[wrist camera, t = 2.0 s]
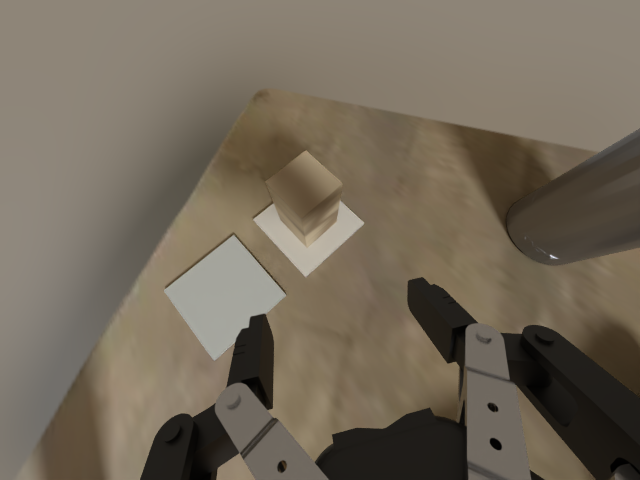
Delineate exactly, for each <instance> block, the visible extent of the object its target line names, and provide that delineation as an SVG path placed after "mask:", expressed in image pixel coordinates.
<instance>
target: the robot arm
mask: <svg viewBox="0 0 640 480" xmlns="http://www.w3.org/2000/svg"><path fill="white" fill-rule="evenodd" d="M507 228H508V232H509V235H510V237H511V239H512V241H513V242H514V243H515V245H516V246H517V247H518V248H519V249H520V250H521V251H522V252H523V253H524V254H525V255H527V256H528V257H530V258H531V259H533V260H536V261H538V262H540V263H544V264H547V265H563V264H568V263H572V262H577V261H581V260H586V259H590V258H595V257H600V256H604V255H609V254H613V253H618V252H622V251H627V250H631V249H636V248H640V129H638V130H636V131H635V132H633V133H631V134H630V135H628V136H626V137H625V138H623V139H621V140H620V141H618V142H616V143H614V144H613V145H611V146H609V147H608V148H606V149H604V150H603V151H601V152H599V153H598V154H596V155H594V156H593V157H591V158H589V159H588V160H586V161H584V162H583V163H581V164H579V165H578V166H576V167H574V168H573V169H571V170H569V171H568V172H566V173H564V174H562V175H561V176H559V177H557V178H556V179H554V180H552V181H551V182H549V183H547V184H546V185H544V186H542V187H540V188H539V189H537V190H535V191H534V192H532V193H530V194H529V195H527V196H526V197H524V198H522V199H521V200H519V201H517V202H516V203H514V205H513V206H512V207H511V208H510V210H509V212H508V215H507ZM407 301H408V306H409V309H410V311H411V313H412V314H413V316H414V317H415V319H416V320H417V321H418V323H419V324H420V326H421V327H422V328H423V330H424V331H425V333H426V334H427V335H428V337H429V338H430V340H431V341H432V342H433V344H434V345H435V347H436V348H437V349H438V351H439V352H440V354H441V355H442V356H443V358H444V359H445V361H446V362H447V363H452V362H457V364H458V365H459V366H460V367H459V384H458V410H457V421H454V420H451V419H448V418H444V417H439V416H434V414H433V413H432V411H431V409H430V408H427V409H424V410H420V411H417V412H413V413H409V414H406V415H405V416H403V417H402V418H400V419H399V420H397V421H396V422H394V423H393V424H391V425H390V426H388V427H387V428H384V429H372V428H355V429H351V430H347V431H344V432H340V433H336V434H333V435H332V437H333V444H331V445H330V446H329V447H327V448H326V449H325V450H324V451H323V452H322V453H321V454H320V456H319V457H318V458H317V460H316V461H315V463H314V461H313V460H312V459H311V458H310V457H309V455H308V454H307V453H306V452H305V451H304V449H303V448H302V447H301V446H300V445H299V444H298V442H297V441H296V440H295V439H294V438H293V436H292V435H291V434H290V433H289V432H288V430H287V429H286V428H285V427H284V426H283V424H282V423H281V422H280V421H279V420H278V419H277V418H273V417H272V415H271V414H270V413H269V412H268V411H267V410H269V409H273V366H274V340H273V335H272V331H271V329H270V326H269V323H268V320H267V317H266V315H265V313H264V314H259V315H255V316H251V317H250V321H249V327H248V328H243V329H241V331H240V333H239V334H238V336H237V337H236V341H235V349H234V352H233V357H232V362H231V367H230V372H229V377H228V382H227V387H226V389H225V390H224V391H223V392H222V393H221V394H220V395H219V397H218V399H217V401H216V403H215V404H214V405H213V406H211V407H210V408H208V409H206V410H205V411H203V412H201V413H199V414H198V415H196V416H194V417H193V418H192V417H191V416H190V415H189V414H179V415H176V416H174V417H172V418H171V419H169V420H168V421H167V422H166V423H165V424H164V425H163V426H162V427H161V428H160V430H159V431H158V433H157V434H156V436H155V438H154V441H153V444H152V447H151V449H150V452H149V455H148V458H147V461H146V464H145V467H144V470H143V473H142V475H141V478H140V480H216V477H217V469H218V467H220V466H221V465H222V464H224V463H225V462H227V461H228V460H230V459H231V458H233V457H234V456H236V455H237V454H239V453H240V454H241V456H242V458H243V460H244V461H245V463H246V465H247V466H248V468H249V470H250V471H251V473H252V475H253V476H254V478H255V479H256V480H544V479H543V478H541V477H540V476H538V475H537V474H535V473H534V472H532V471H531V470H530V469H529V463H528V457H527V451H526V445H525V439H524V433H523V427H522V421H521V415H520V409H519V403H518V396H517V390H516V386H515V385H517V386H518V388H519V389H520V390H521V391H522V392H523V394H524V395H525V396H526V397H527V398H528V399H529V401H530V402H531V403H532V404H533V405H534V407H535V408H536V409H537V410H538V411H539V412H540V414H541V415H542V416H543V417H544V418H545V420H546V421H547V422H548V423H549V424H550V425H551V427H552V428H553V429H554V430H555V431H556V432H557V434H558V435H559V436H560V437H561V438H562V440H563V441H564V442H565V443H566V444H567V445H568V447H569V448H570V449H571V450H572V451H573V453H574V454H575V455H576V456H577V457H578V458H579V460H580V461H581V462H582V463H583V464H584V466H585V467H586V468H587V469H588V470H589V471H590V473H591V474H592V475H593V476H594V477H595V479H596V480H640V398H639V397H638V396H637V395H635V394H634V393H633V392H632V391H630V390H629V389H628V388H627V387H625V386H624V385H623V384H622V383H620V382H619V381H618V380H617V379H615V378H614V377H613V376H611V375H610V374H609V373H608V372H606V371H605V370H604V369H603V368H601V367H600V366H599V365H598V364H596V363H595V362H594V361H593V360H591V359H590V358H589V357H588V356H586V355H585V354H584V353H583V352H581V351H580V350H579V349H578V348H576V347H575V346H574V345H573V344H571V343H570V342H569V341H568V340H566V339H565V338H564V337H563V336H561V335H560V334H559V333H557V332H555V331H554V330H552V329H549V328H547V327H544V326H539V325H529V326H526V327H525V328H524V329H523V332H522V334H511V333H499V332H498V331H497V330H496V329H494V328H493V327H491V326H488V325H485V324H480V323H478V322H477V321H476V320H475V319H474V318H473V317H472V316H471V315H470V314H469V313H468V312H467V311H466V310H465V309H463V308H462V307H461V306H460V305H459V304H458V303H456V301H455V300H454V299H453V298H452V297H451V296H450V295H449V294H448V293H447V292H446V291H445V290H444V289H443V288H441V287H439V286H437V285H435V284H433V285H430V284H429V283H428V282H427V281H426V280H425V279H424V278H423V277H421V278H416V279H412V280H409V281H408V299H407Z"/></svg>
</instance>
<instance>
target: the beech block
mask: <svg viewBox="0 0 640 480" xmlns="http://www.w3.org/2000/svg"><path fill="white" fill-rule="evenodd" d="M265 183H266V185H267V188H268V190H269V193H270V195H271V198H272V200H273V203H274V205H275V208H276V210H277V213H278V215H279V218H280V220H281V221H282V222H283V223H284V224H285V225H286V226H287V228H288V229H289V230H290V231H291V232H292V233H293V234H294V235H295V236H296V237H297V238H298V239H299V240H300V241H301V242H302V243H303V244H304V245H305V246H306V247H307V248H308V247H309V246H310V245H311V244H312V243H313V242H314V241H316V240H317V239H318V238H319V237H320V236H321V235H322V234H324V233H325V232H326V231H327V230H328V229H329V228H330V227H331V226H333V225H334V224H335V223H336V222H337V216H338V210H339V204H340V198H341V192H342V186H343V183H342V182H340V181H339V180H338V179H337V178H336V177H335V176H334V175H333V174H332V173H331V172H329V171H328V170H327V169H326V168H325V167H324V166H323V165H322V164H321V163H320V162H318V161H317V160H316V159H315V158H314V157H313V156H312V155H311V154H310V153H309V152H307V151H306V150H305V151H304V152H303V153H302V154H300V155H299V156H298V157H296V158H295V159H294V160H292V161H291V162H290V163H288V164H287V165H286V166H284V167H283V168H282V169H281V170H279V171H278V172H277V173H275V174H274V175H273V176H271V177H270V178H269V179H267V180H266V181H265Z"/></svg>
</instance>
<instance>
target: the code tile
mask: <svg viewBox="0 0 640 480" xmlns="http://www.w3.org/2000/svg"><path fill="white" fill-rule="evenodd" d="M253 220H254V222H255V223H256V224H257V225H258V226H259V227H260V228H261V229H262V230H263V231H264V233H265V234H266V235H267V236H268V237H269V238H270V239H271V240H272V241H273V242H274V243H275V245H276V246H277V247H278V248H279V249H280V250H281V251H282V252H283V253H284V254H285V256H286V257H287V258H288V259H289V260H290V261H291V262H292V263H293V264H294V265H295V266H296V268H297V269H298V270H299V271H300V272H301V273H302V274H303V275H304V276H305V277H307V276H308V275H309V274H310V273H311V272H312V271H313V270H315V269H316V268H317V267H318V266H319V265H320V264H321V263H322V262H323V261H324V260H325V259H327V258H328V257H329V256H330V255H331V254H332V253H333V252H334V251H335V250H336V249H337V248H339V247H340V246H341V245H342V244H343V243H344V242H345V241H346V240H347V239H348V238H349V237H351V236H352V235H353V234H354V233H355V232H356V231H357V230H358V229H359V228H360V227H361V226H363V225H364V222H363V221H362V220H361V219H360V218H358V217H357V216H356V215H355V214H354V213H353V212H352V211H351V210H350V209H349V208H348V207H347V206H346V205H345V204H343V203H342V202H341V201H340V204H339V210H338V216H337V222H336V223H335V224H334V225H333V226H331V227H330V228H329V229H328V230H327V231H326V232H325V233H324V234H322V235H321V236H320V237H319V238H318V239H317V240H316V241H314V242H313V243H312V244H311V245H310V246H309V247H308V248H307V247H306V246H305V245H304V244H303V243H302V242H301V241H300V240H299V239H298V238H297V237H296V236H295V235H294V234H293V233H292V232H291V231H290V230H289V229H288V228H287V226H286V225H285V224H284V223H283V222H282V221H281V220H280V218H279V215H278V213H277V210H276V208H275V205H274V203H273V204H272V205H271V206H269V207H268V208H267V209H266V210H264V211H263V212H262V213H260V214H259V215H258V216H257V217H255V218H254V219H253Z"/></svg>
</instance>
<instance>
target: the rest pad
mask: <svg viewBox="0 0 640 480" xmlns="http://www.w3.org/2000/svg"><path fill="white" fill-rule="evenodd" d="M164 292H165V293H166V294H167V296H168V297H169V299H170V300H171V301H172V303H173V304H174V306H175V307H176V308H177V310H178V311H179V313H180V314H181V315H182V317H183V318H184V320H185V321H186V322H187V324H188V325H189V327H190V328H191V329H192V331H193V332H194V334H195V335H196V336H197V338H198V339H199V341H200V342H201V343H202V345H203V346H204V348H205V349H206V350H207V352H208V353H209V355H210V356H211V357H212V359H213V360H214V361H215V360H216V359H217V358H218V357H219V356H221V355H222V354H223V353H224V352H225V351H226V350H227V349H228V348H229V347H230V346H232V345H233V344H234V343H235V341H236V337H237V336H238V334H239V333H240V331H241V329H243V328H248V327H249V321H250V317H251V316H255V315H259V314H264V313H265V314H266V313H268V312H269V311H270V310H271V309H272V308H273V307H274V306H275V305H276V304H277V303H278V302H280V301H281V300H282V299H283V298H284V297H285V296H286V294H285V293H284V292H283V291H282V289H281V288H280V287H279V286H278V285H277V284H276V283H275V281H274V280H273V279H272V278H271V277H270V276H269V274H268V273H267V272H266V271H265V270H264V269H263V268H262V266H261V265H260V264H259V263H258V262H257V261H256V260H255V258H254V257H253V256H252V255H251V254H250V253H249V251H248V250H247V249H246V248H245V247H244V246H243V245H242V243H241V242H240V241H239V240H238V239H237V238H236V237H235V235H233V236H232V237H230V238H229V239H228V240H227V241H225V242H224V243H223V244H221V245H220V246H219V247H218V248H216V249H215V250H214V251H213V252H211V253H210V254H209V255H208V256H206V257H205V258H204V259H203V260H201V261H200V262H199V263H198V264H196V265H195V266H194V267H193V268H191V269H190V270H189V271H188V272H186V273H185V274H184V275H182V276H181V277H180V278H179V279H177V280H176V281H175V282H174V283H172V284H171V285H170V286H169V287H167V288H166V289H165V290H164Z"/></svg>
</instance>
